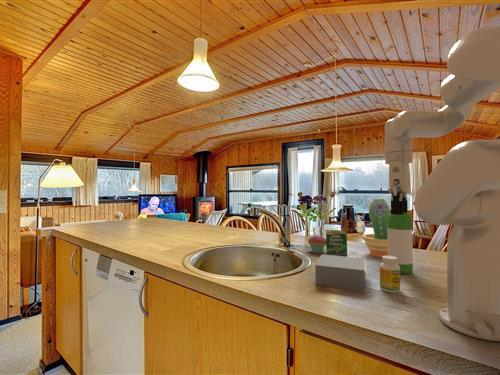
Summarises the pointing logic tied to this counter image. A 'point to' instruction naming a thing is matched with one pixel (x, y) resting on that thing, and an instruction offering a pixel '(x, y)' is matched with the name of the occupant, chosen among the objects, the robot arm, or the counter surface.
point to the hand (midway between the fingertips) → (399, 213)
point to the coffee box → (336, 242)
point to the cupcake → (317, 243)
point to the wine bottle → (401, 241)
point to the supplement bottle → (390, 274)
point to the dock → (341, 272)
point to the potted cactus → (378, 228)
